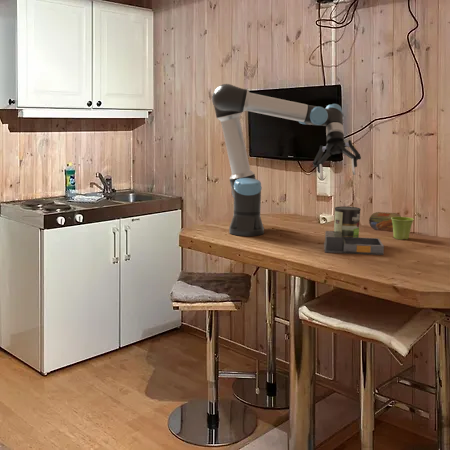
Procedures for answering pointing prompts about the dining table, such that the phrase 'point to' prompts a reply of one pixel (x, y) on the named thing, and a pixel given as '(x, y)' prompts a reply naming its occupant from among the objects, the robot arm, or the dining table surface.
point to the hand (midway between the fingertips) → (337, 175)
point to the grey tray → (352, 244)
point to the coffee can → (347, 221)
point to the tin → (382, 221)
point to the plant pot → (401, 227)
